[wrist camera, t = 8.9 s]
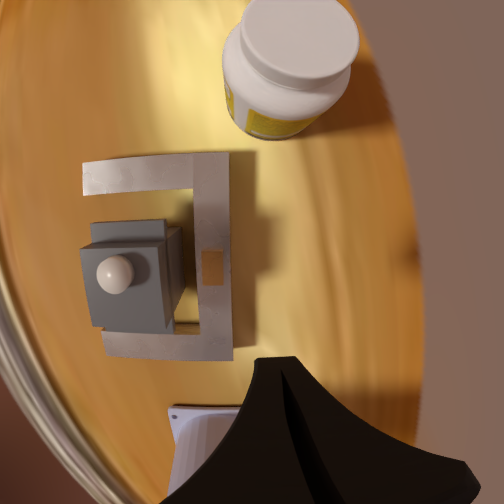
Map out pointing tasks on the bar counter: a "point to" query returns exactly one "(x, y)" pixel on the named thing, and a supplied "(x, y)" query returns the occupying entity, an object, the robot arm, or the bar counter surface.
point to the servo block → (134, 275)
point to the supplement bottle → (287, 64)
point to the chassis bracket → (206, 250)
